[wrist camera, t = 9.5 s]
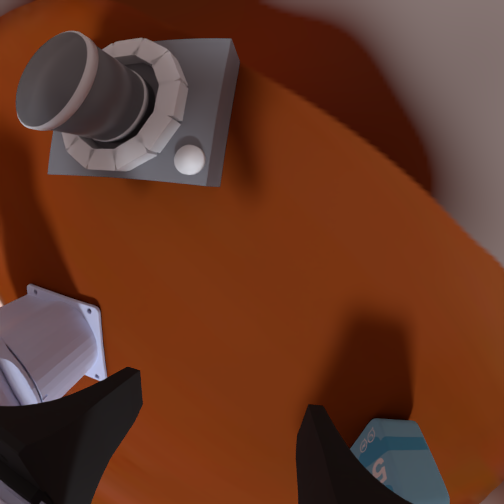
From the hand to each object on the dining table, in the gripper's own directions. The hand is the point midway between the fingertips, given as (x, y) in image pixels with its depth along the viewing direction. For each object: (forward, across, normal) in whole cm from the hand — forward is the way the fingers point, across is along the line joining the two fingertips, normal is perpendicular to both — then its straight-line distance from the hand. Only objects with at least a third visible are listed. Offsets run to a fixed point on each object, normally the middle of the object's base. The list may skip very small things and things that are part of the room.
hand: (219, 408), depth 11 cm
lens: (+6, +9, -13) cm, 17 cm away
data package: (+10, -14, +14) cm, 22 cm away
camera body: (+10, +9, -13) cm, 19 cm away
